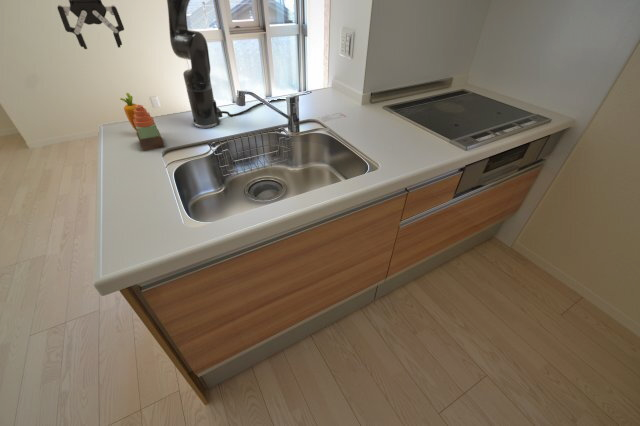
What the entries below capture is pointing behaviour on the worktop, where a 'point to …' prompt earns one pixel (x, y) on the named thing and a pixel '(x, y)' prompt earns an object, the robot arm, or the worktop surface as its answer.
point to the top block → (147, 132)
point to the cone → (142, 117)
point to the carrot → (130, 109)
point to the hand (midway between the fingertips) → (103, 47)
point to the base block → (151, 142)
